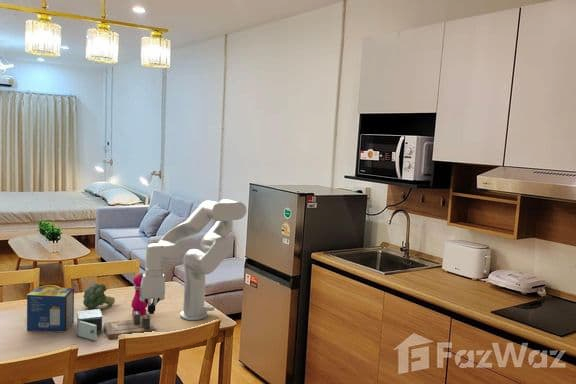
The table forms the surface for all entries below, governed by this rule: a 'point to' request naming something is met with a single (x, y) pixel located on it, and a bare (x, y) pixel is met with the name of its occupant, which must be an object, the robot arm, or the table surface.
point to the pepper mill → (136, 303)
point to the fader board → (128, 327)
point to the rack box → (91, 318)
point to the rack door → (86, 330)
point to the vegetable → (97, 296)
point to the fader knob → (136, 317)
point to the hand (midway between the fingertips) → (151, 313)
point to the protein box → (50, 309)
